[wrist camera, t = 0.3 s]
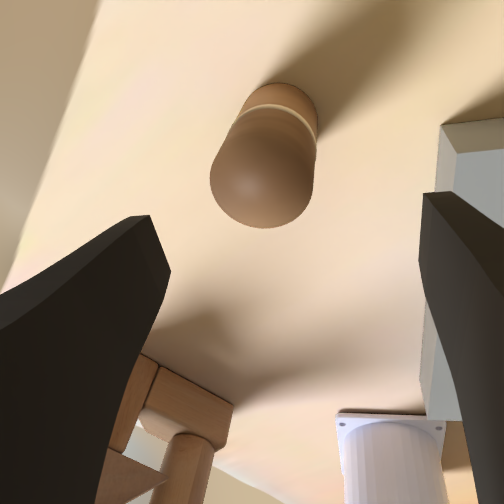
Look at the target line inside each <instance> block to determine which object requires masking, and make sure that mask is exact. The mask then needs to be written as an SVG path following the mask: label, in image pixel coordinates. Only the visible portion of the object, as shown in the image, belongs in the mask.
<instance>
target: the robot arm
mask: <svg viewBox="0 0 504 504" xmlns="http://www.w3.org/2000/svg"><path fill="white" fill-rule="evenodd" d="M418 261H419V266H420V272H421V278H422V283H423V288H424V293H425V297H426V300H427V303H428V306H429V309H430V312H431V315H432V318H433V321H434V324H435V327H436V330H437V333H438V336H439V339H440V342H441V345H442V348H443V351H444V354H445V357H446V360H447V363H448V366H449V369H450V372H451V375H452V379H453V382H454V386H455V390H456V394H457V399H458V403H459V408H460V413H461V417H462V422H463V426H464V431H465V436H466V441H467V446H468V451H469V456H470V461H471V466H472V471H473V476H474V481H475V487H476V492H477V498H478V503H479V504H504V228H503V227H501V226H500V225H498V224H497V223H495V222H494V221H492V220H491V219H490V218H488V217H487V216H485V215H484V214H483V213H481V212H480V211H478V210H477V209H476V208H474V207H473V206H472V205H470V204H469V203H468V202H466V201H465V200H463V199H462V198H461V197H459V196H458V195H456V194H455V193H453V192H452V191H443V192H431V193H423V205H422V218H421V232H420V246H419V259H418ZM170 274H171V270H170V267H169V264H168V262H167V259H166V256H165V254H164V251H163V249H162V246H161V243H160V241H159V238H158V236H157V233H156V230H155V228H154V225H153V222H152V220H151V217H150V215H143V216H130V217H128V218H126V219H124V220H122V221H120V222H119V223H117V224H115V225H114V226H112V227H110V228H109V229H107V230H106V231H104V232H102V233H101V234H99V235H98V236H96V237H95V238H93V239H92V240H90V241H89V242H87V243H86V244H84V245H83V246H81V247H80V248H78V249H77V250H75V251H74V252H72V253H71V254H69V255H68V256H66V257H64V258H63V259H61V260H60V261H58V262H56V263H55V264H53V265H52V266H50V267H48V268H47V269H45V270H44V271H42V272H40V273H39V274H37V275H35V276H34V277H32V278H30V279H29V280H27V281H25V282H23V283H21V284H20V285H18V286H16V287H14V288H12V289H10V290H8V291H6V292H4V293H3V294H1V295H0V504H95V499H96V494H97V489H98V485H99V481H100V477H101V473H102V469H103V465H104V461H105V457H106V453H107V449H108V445H109V442H110V438H111V435H112V431H113V428H114V424H115V421H116V417H117V414H118V411H119V408H120V405H121V402H122V398H123V395H124V392H125V389H126V386H127V383H128V380H129V378H130V375H131V373H132V370H133V368H134V365H135V363H136V361H137V359H138V356H139V354H140V352H141V350H142V347H143V345H144V343H145V341H146V339H147V336H148V334H149V332H150V330H151V328H152V325H153V323H154V321H155V319H156V316H157V314H158V312H159V309H160V307H161V305H162V302H163V300H164V296H165V293H166V289H167V286H168V282H169V278H170ZM335 421H336V429H337V437H338V445H339V453H340V461H341V470H342V474H343V475H344V499H345V504H449V500H448V495H447V490H446V485H445V480H444V476H443V471H442V466H441V457H442V450H443V444H444V438H445V432H446V426H447V423H446V421H442V420H427V416H417V415H388V414H359V413H338V414H336V416H335Z"/></svg>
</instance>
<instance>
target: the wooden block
mask: <svg viewBox="0 0 504 504" xmlns="http://www.w3.org/2000/svg"><path fill="white" fill-rule="evenodd" d="M232 413H233V405H232V404H230V403H228V402H226V401H224V400H222V399H221V398H219V397H217V396H215V395H213V394H212V393H210V392H208V391H206V390H204V389H202V388H201V387H199V386H197V385H195V384H193V383H191V382H190V381H188V380H186V379H184V378H182V377H181V376H179V375H177V374H175V373H173V372H171V371H170V370H168V369H166V368H164V367H159V368H158V364H157V363H156V362H154V361H152V360H151V359H149V358H147V357H145V356H143V355H142V354H139V356H138V359H137V361H136V363H135V365H134V368H133V370H132V373H131V375H130V378H129V380H128V383H127V386H126V389H125V392H124V395H123V398H122V402H121V405H120V408H119V411H118V414H117V417H116V421H115V424H114V428H113V431H112V435H111V438H110V442H109V445H108V449H107V453H106V457H105V461H104V465H103V469H102V473H101V477H100V481H99V485H98V489H97V494H96V499H95V504H126V503H128V502H129V501H131V500H133V499H135V498H137V497H139V496H141V495H142V494H144V493H146V492H148V491H149V490H151V489H153V488H154V490H153V493H152V496H151V499H150V502H149V504H203V501H204V497H205V492H206V488H207V484H208V479H209V475H210V470H211V466H212V462H213V457H214V453H215V452H217V451H218V450H220V449H222V448H223V447H224V446H225V445H226V442H227V437H228V432H229V427H230V423H231V418H232ZM137 419H139V420H140V422H141V424H142V426H143V427H144V429H145V431H146V432H148V433H150V434H151V435H154V436H156V437H158V438H160V439H162V440H164V441H166V442H168V443H169V444H168V447H167V450H166V453H165V456H164V459H163V462H162V465H161V468H160V472H158V471H156V470H154V469H152V468H150V467H147V466H145V465H143V464H141V463H139V462H137V461H135V460H133V459H130V458H128V457H126V456H124V455H122V453H123V452H124V451H125V449H126V446H127V443H128V441H129V438H130V436H131V434H132V431H133V429H134V426H135V424H136V421H137Z"/></svg>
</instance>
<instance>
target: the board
mask: <svg viewBox="0 0 504 504" xmlns="http://www.w3.org/2000/svg"><path fill="white" fill-rule="evenodd" d="M443 191H452V192H453V193H455V194H456V195H458V196H459V197H461V198H462V199H463V200H465V201H466V202H468V203H469V204H470V205H472V206H473V207H474V208H476V209H477V210H478V211H480V212H481V213H483V214H484V215H485V216H487V217H488V218H490V219H491V220H492V221H494V222H495V223H497V224H498V225H500V226H501V227H503V228H504V118H497V119H488V120H480V121H472V122H464V123H456V124H447V125H440V134H439V147H438V159H437V171H436V183H435V192H443ZM419 380H420V385H421V390H422V395H423V400H424V405H425V410H426V415H427V420H442V421H462V417H461V413H460V408H459V403H458V399H457V394H456V390H455V386H454V382H453V379H452V375H451V372H450V369H449V366H448V363H447V360H446V357H445V354H444V351H443V348H442V345H441V342H440V339H439V336H438V333H437V330H436V327H435V324H434V321H433V318H432V315H431V312H430V309H429V306H428V303H427V300H426V305H425V317H424V330H423V342H422V354H421V366H420V378H419Z"/></svg>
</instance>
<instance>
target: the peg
mask: <svg viewBox="0 0 504 504" xmlns="http://www.w3.org/2000/svg"><path fill="white" fill-rule="evenodd" d="M317 128H318V117H317V112H316V109H315V107H314V105H313V103H312V101H311V100H310V98H309V97H308V96H307V95H306V94H305V93H304V92H303V91H301V90H300V89H298V88H296V87H294V86H292V85H289V84H284V83H273V84H268V85H265V86H263V87H261V88H259V89H257V90H256V91H254V92H253V93H252V94H251V95H250V96H249V97H248V99H247V100H246V102H245V104H244V105H243V107H242V109H241V111H240V113H239V115H238V116H237V118H236V120H235V121H234V123H233V124H232V126H231V128H230V130H229V132H228V134H227V137H226V139H225V141H224V143H223V144H222V146H221V148H220V150H219V152H218V154H217V156H216V157H215V159H214V161H213V164H212V167H211V171H210V186H211V190H212V193H213V196H214V198H215V200H216V202H217V203H218V205H219V206H220V207H221V209H222V210H223V211H224V212H225V213H226V214H227V215H228V216H230V217H231V218H233V219H234V220H236V221H238V222H240V223H242V224H244V225H247V226H250V227H255V228H275V227H279V226H282V225H285V224H287V223H289V222H291V221H293V220H294V219H296V218H297V217H298V216H299V215H300V214H302V212H303V211H304V210H305V209H306V207H307V205H308V204H309V201H310V199H311V196H312V191H313V180H314V167H315V161H316V151H317V149H316V141H317Z"/></svg>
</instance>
